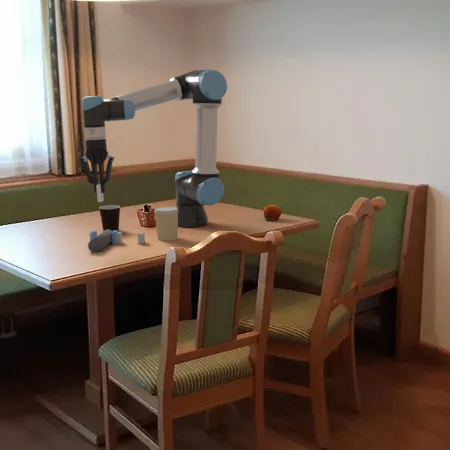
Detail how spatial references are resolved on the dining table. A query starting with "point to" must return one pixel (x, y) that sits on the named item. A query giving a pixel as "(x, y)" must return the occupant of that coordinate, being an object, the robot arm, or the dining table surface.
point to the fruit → (272, 212)
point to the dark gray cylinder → (100, 241)
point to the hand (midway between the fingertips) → (100, 201)
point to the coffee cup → (166, 223)
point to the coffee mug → (110, 217)
